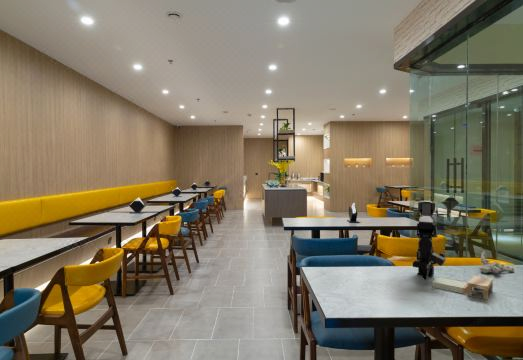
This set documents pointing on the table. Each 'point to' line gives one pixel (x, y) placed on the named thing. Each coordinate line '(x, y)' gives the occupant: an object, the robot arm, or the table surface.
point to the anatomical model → (492, 266)
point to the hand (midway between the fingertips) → (425, 279)
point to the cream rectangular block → (451, 285)
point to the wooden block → (480, 286)
